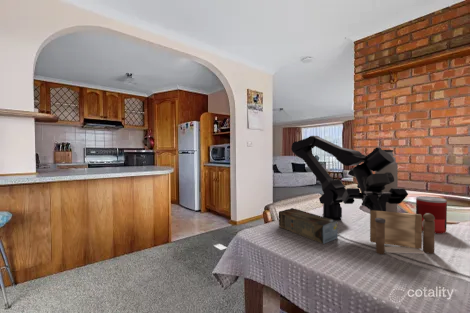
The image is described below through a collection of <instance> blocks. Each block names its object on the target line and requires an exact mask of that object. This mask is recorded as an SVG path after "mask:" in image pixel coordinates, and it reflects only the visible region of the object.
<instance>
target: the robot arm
mask: <svg viewBox="0 0 470 313" xmlns="http://www.w3.org/2000/svg"><path fill="white" fill-rule="evenodd" d="M315 147H316V148H318V149H320V150H321V151H323V152H326V153H327V154H330V155H332V156H333V157H334V158H335V159H336V160H337V161H338V162H339V163H340V164H341V165H343V166H345V167H352V166H354V167H352V168H349V170H348V173H347V175H348V176H350V177H353V178H355V180H356V182H357V185H356V187H357V188H355V187H353V188H351V187H350V188H348V187H347V188H346V186H345V185H344V183H343V182H342V181H341V179H339V178H338V179H337V178H336V179H334V178H332V176H331V175H330V174H329V173H328V172H327V170H326V169H325V168H324V167H323V165H322V164H321V163H320V162H319V161H318V159H317V158H316V156H314V154H313V149H314V148H315ZM290 150H291V152H292V153H293V154H294V155H295V156H296V157H297V158H300V159H301V160H303V162H304V163H305V164H306V166H308V168H309V170H310V171H311V172H312V173H313V175H314V176H315V178H316V179H317V180H318V182H319V183H320V185H321V191H322V195H320V197H319V199H318V200H319V203H320V204H322V214H321V216H322V217H325V218H328V219H332V220H335V221H342V218H343V208H342V206H341V204H342V203H343V204H344V205H353V204H354V203H355V199H356V200H361V201H362V202H361V206H363V207H366V209H369V211H370V210H375V211H386V202H388V203H390V204H397V205H399V204H401V203H402V202H403V201H404V200H405V199H406V198H407V197H408V195H409V193H408V192H407V190H406V189H405V188H404V187H397V188H391V189H390V191H389V192H382V190H384V189H385V185H387V184H390V183H392V182H394V176H393V175H392V173H391V172H386V173H384V174H375V173H373V172H375V171H377V172H380V171H381V170H383V169H384V168H385V167H387V166H388V165H390V164H391V163H393V162H394V159H393V157H394V156H393V157H392V156H391V155H390V154H388V153H387V152H386V151H384V150H385V149H382V148H381V147H378V146H377V147H375V148H374V149H373V150H372V151H371V152H370V153H368V154H367V155H365V154H362V153H361V151H359V150H355V149H351V148H345V147H342V146H340V145H337V144H335V143H333V142H331V141H329V140H327V139H324V138H322V137H320V135H319V136H318V135H310V136H307V137H306V138H303V139H300V140H297V141H294V142H292V144H291V148H290Z"/></svg>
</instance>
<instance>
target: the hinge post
mask: <svg viewBox="0 0 470 313" xmlns="http://www.w3.org/2000/svg"><path fill="white" fill-rule="evenodd" d="M423 219H424V220H423V231H422V251H423V252H424V253H425V254H431V255H434V254H435V238H436V237H435V234H436V233H435V222H434V220H435V217H434V216H433V215H432V214H430V213H426V214H424V215H423Z"/></svg>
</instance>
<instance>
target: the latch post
mask: <svg viewBox="0 0 470 313" xmlns="http://www.w3.org/2000/svg"><path fill="white" fill-rule="evenodd" d="M375 221H376V243H375V253H376V254H378V255H385V253H386V252H385V247H386V246H385V245H386V244H385V219H383V218H375Z"/></svg>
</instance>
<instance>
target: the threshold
mask: <svg viewBox="0 0 470 313" xmlns="http://www.w3.org/2000/svg"><path fill="white" fill-rule="evenodd" d="M385 253H386V254H387V253H390V254H391V253H392V254H415V255H416V254H417V255H419V254H420V255H421V254H422V255H425V252H424V251H423V249H419V248H412V247H404V246H385Z"/></svg>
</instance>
